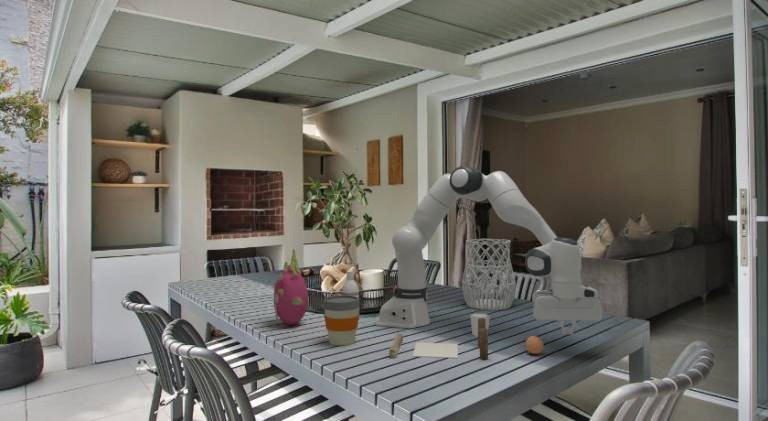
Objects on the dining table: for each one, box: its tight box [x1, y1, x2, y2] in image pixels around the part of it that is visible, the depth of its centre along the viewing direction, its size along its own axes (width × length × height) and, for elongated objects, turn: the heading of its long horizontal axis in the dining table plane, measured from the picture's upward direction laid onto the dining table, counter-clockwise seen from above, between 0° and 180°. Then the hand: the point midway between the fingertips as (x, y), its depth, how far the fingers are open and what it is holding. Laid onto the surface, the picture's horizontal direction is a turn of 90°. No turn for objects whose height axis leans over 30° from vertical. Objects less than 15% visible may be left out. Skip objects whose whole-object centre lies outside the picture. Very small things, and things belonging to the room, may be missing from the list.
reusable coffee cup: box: [322, 295, 360, 346], centre depth 166 cm, size 13×13×15 cm
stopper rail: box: [389, 333, 404, 359], centre depth 157 cm, size 2×18×2 cm, turn 171°
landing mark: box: [412, 342, 459, 359], centre depth 155 cm, size 14×14×1 cm
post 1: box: [477, 318, 486, 348], centre depth 158 cm, size 2×2×9 cm
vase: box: [461, 238, 517, 311], centre depth 218 cm, size 24×24×30 cm
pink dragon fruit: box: [273, 249, 309, 326], centre depth 189 cm, size 18×14×30 cm
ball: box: [524, 335, 544, 355], centre depth 150 cm, size 6×6×6 cm
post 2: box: [479, 328, 489, 361], centre depth 146 cm, size 2×2×9 cm
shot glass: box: [469, 312, 490, 337], centre depth 172 cm, size 7×7×7 cm
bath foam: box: [341, 270, 360, 320], centre depth 197 cm, size 7×7×20 cm
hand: (567, 334), depth 148 cm, fingers closed
